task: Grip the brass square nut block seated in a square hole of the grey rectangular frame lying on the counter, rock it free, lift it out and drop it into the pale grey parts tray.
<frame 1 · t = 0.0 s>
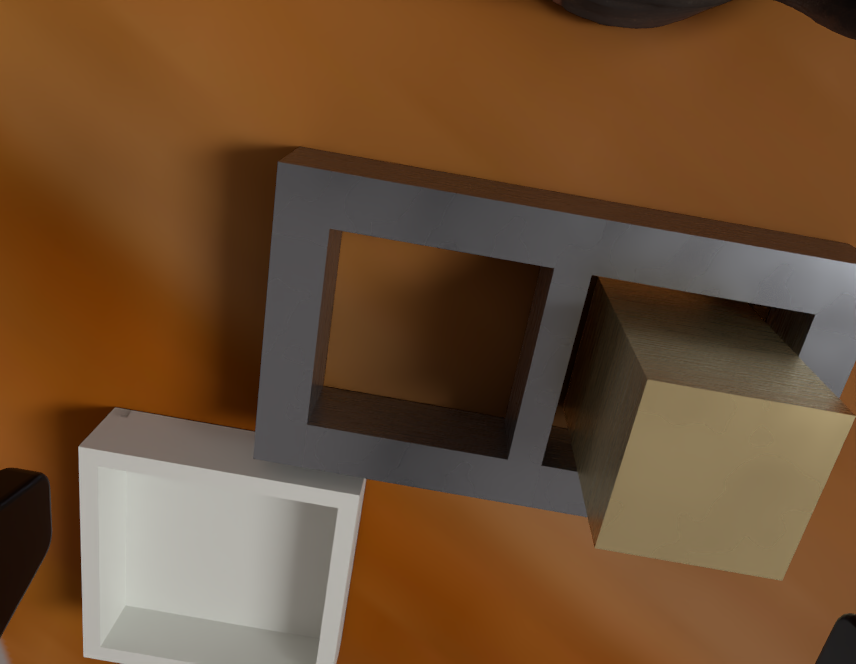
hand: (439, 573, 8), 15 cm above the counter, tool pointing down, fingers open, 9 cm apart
grey rectangular frame: (540, 337, 23), on the counter
parts tray: (235, 533, 27), on the counter
nut block: (650, 356, 23), resting in grey rectangular frame
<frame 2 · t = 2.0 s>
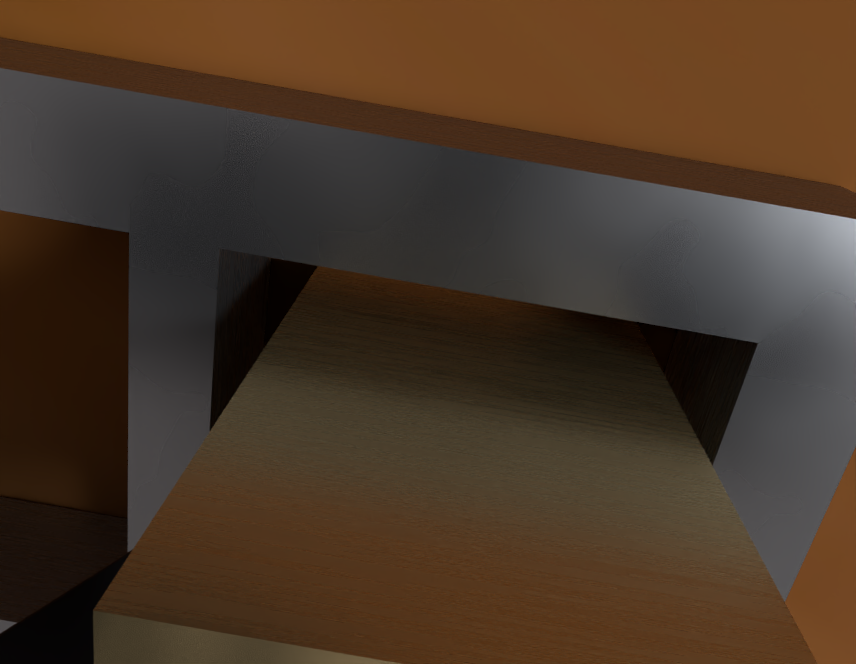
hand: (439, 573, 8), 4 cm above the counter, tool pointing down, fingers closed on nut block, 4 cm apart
grey rectangular frame: (229, 380, 12), on the counter
nut block: (450, 417, 12), resting in grey rectangular frame, touching gripper
when the fingers open (6 cm above the counter, at t = 6.6 s): nut block drops 2 cm, resting on parts tray.
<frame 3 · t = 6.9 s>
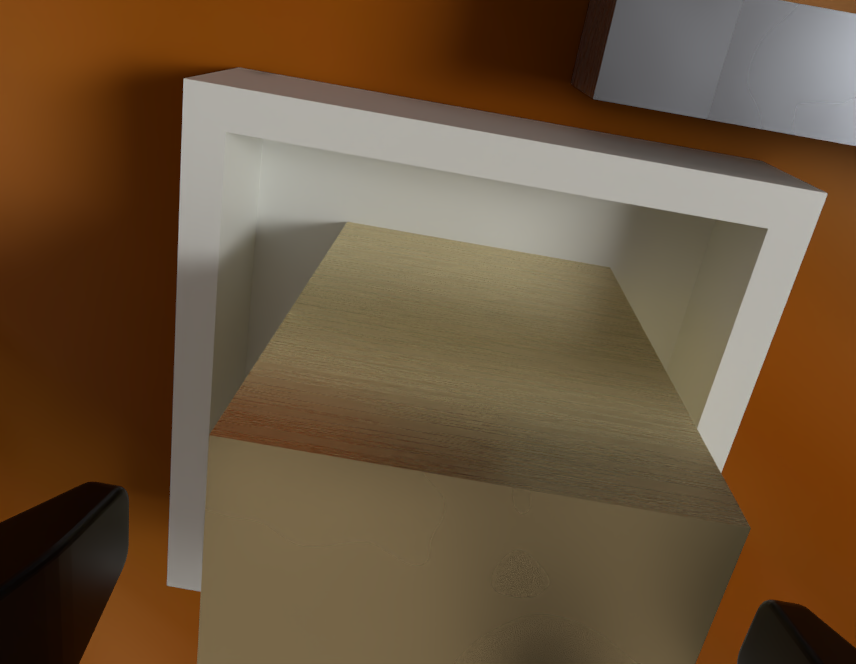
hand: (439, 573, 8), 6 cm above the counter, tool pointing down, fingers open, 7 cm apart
parts tray: (454, 351, 14), on the counter
nut block: (455, 363, 13), resting on parts tray
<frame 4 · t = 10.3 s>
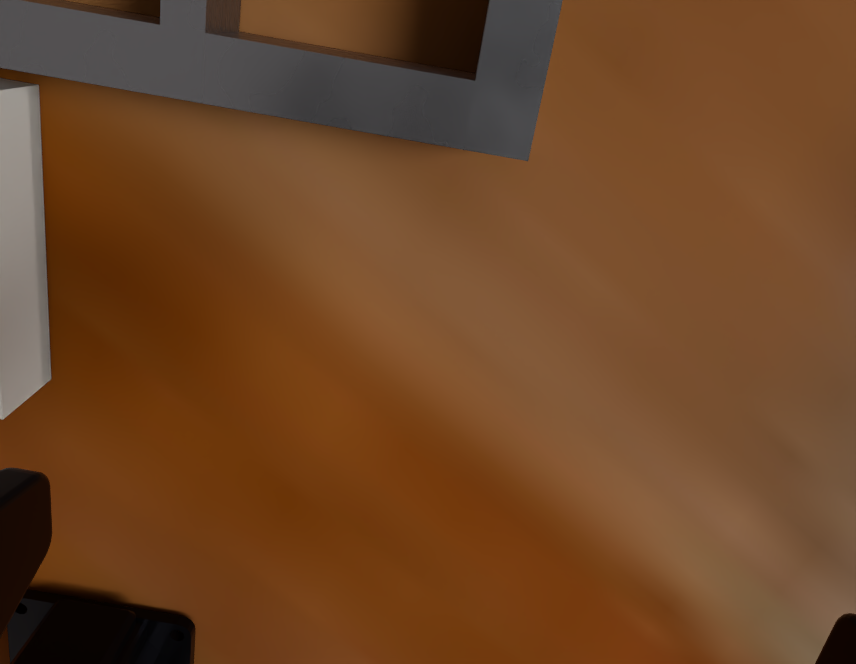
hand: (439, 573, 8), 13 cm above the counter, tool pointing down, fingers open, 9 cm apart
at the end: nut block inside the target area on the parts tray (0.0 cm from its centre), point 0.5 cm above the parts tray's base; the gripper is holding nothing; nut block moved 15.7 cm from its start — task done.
